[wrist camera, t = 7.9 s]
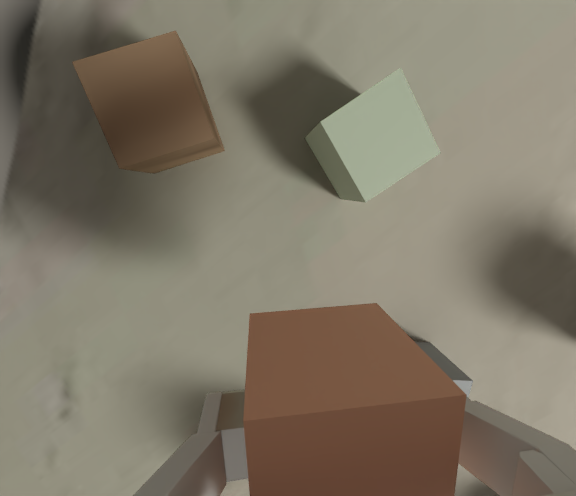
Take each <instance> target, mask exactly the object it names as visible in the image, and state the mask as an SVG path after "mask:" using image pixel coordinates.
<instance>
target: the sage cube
mask: <svg viewBox="0 0 576 496" xmlns="http://www.w3.org/2000/svg"><path fill="white" fill-rule="evenodd" d="M305 139H306V141H307V143H308V144H309V146H310V148H311V150H312V151H313V153H314V155H315V156H316V158H317V160H318V162H319V163H320V165H321V167H322V168H323V170H324V172H325V173H326V175H327V177H328V179H329V180H330V182H331V184H332V185H333V187H334V189H335V190H336V192H337V194H338V196H339V197H340V199H344V200H352V201H359V202H367V201H369V200H370V199H372V198H373V197H375V196H376V195H378V194H379V193H381V192H382V191H384V190H385V189H387V188H388V187H390V186H391V185H393V184H394V183H396V182H397V181H399V180H400V179H402V178H403V177H405V176H406V175H408V174H410V173H411V172H413V171H414V170H416V169H417V168H419V167H420V166H422V165H423V164H425V163H426V162H428V161H429V160H431V159H432V158H434V157H435V156H437V155H438V154H440V153H441V152H440V150H439V148H438V146H437V144H436V142H435V140H434V138H433V135H432V133H431V131H430V129H429V127H428V125H427V123H426V120H425V118H424V116H423V114H422V112H421V110H420V108H419V105H418V103H417V101H416V99H415V97H414V95H413V93H412V91H411V88H410V86H409V84H408V82H407V80H406V78H405V76H404V73H403V71H402V69H401V68H399V69H398V70H396V71H395V72H393V73H392V74H390V75H389V76H388V77H386V78H385V79H383V80H382V81H380V82H379V83H377V84H376V85H374V86H373V87H371V88H370V89H368V90H367V91H365V92H364V93H362V94H361V95H359V96H358V97H356V98H355V99H353V100H352V101H350V102H349V103H347V104H346V105H344V106H343V107H341V108H340V109H338V110H337V111H335V112H334V113H333V114H331V115H330V116H328V117H327V118H325V119H324V120H322V121H321V122H320V123H319V124H318V125H317V126H316V127H315V128H314V129H313V130H312V131H311V132H310V133H309V134H308V135H307V136H306V137H305Z"/></svg>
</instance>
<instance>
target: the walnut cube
mask: <svg viewBox="0 0 576 496" xmlns="http://www.w3.org/2000/svg"><path fill="white" fill-rule="evenodd" d="M72 63H73V65H74V68H75V70H76V72H77V74H78V77H79V79H80V81H81V83H82V86H83V88H84V90H85V92H86V95H87V97H88V99H89V101H90V104H91V106H92V108H93V110H94V113H95V115H96V117H97V119H98V122H99V124H100V126H101V128H102V131H103V133H104V135H105V137H106V140H107V142H108V144H109V146H110V149H111V151H112V153H113V155H114V158H115V160H116V162H117V164H118V167H119V169H125V170H132V171H140V172H147V173H157V172H160V171H163V170H166V169H170V168H173V167H176V166H179V165H182V164H185V163H188V162H191V161H195V160H198V159H201V158H204V157H207V156H210V155H213V154H217V153H220V152H223V151H225V150H224V147H223V144H222V141H221V138H220V136H219V133H218V130H217V127H216V124H215V121H214V118H213V116H212V113H211V110H210V107H209V104H208V101H207V99H206V96H205V93H204V90H203V87H202V84H201V81H200V79H199V76H198V73H197V71H196V69H195V67H194V65H193V63H192V61H191V59H190V57H189V55H188V53H187V51H186V49H185V48H184V46H183V44H182V42H181V40H180V38H179V36H178V34H177V32H176V31H173V32H170V33H166V34H163V35H160V36H156V37H153V38H150V39H146V40H143V41H140V42H136V43H133V44H130V45H126V46H123V47H120V48H116V49H113V50H110V51H106V52H103V53H100V54H96V55H93V56H90V57H87V58H83V59H80V60H77V61H73V62H72Z"/></svg>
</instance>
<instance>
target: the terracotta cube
mask: <svg viewBox="0 0 576 496" xmlns="http://www.w3.org/2000/svg"><path fill="white" fill-rule="evenodd" d="M466 396H467V395H466V394H465V393H464V392H463V391H462V390H461V389H460V388H459V387H458V386H457V385H456V383H455V382H454V381H453V380H452V379H451V378H450V377H449V376H448V375H447V374H446V373H445V372H444V371H443V370H442V369H441V368H440V367H439V366H438V365H437V364H436V363H435V362H434V361H433V360H432V359H431V358H430V357H429V356H428V355H427V354H426V353H425V352H424V351H423V350H422V349H421V348H420V347H419V346H418V345H417V344H416V343H415V342H414V341H413V340H412V339H411V338H410V337H409V336H408V335H407V334H406V333H405V332H404V331H403V330H402V329H401V328H400V327H399V326H398V325H397V324H396V323H395V322H394V321H393V320H392V319H391V317H390V316H389V315H388V314H387V313H386V312H385V311H384V310H383V309H382V308H381V307H380V306H379V305H378V304H377V303H373V304H361V305H348V306H336V307H324V308H312V309H300V310H288V311H276V312H264V313H252V314H250V319H249V335H248V352H247V368H246V384H245V400H244V416H243V424H244V435H245V446H246V457H247V468H248V479H249V490H250V496H454V493H455V485H456V477H457V469H458V461H459V452H460V444H461V436H462V428H463V420H464V412H465V404H466Z"/></svg>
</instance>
